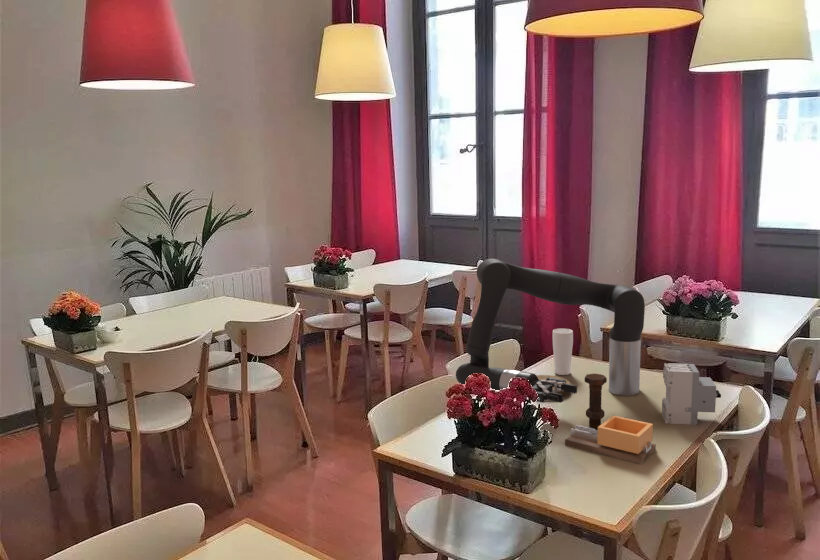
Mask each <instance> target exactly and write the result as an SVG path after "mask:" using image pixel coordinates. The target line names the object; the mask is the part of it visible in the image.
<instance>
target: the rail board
mask: <svg viewBox="0 0 820 560" xmlns="http://www.w3.org/2000/svg"><path fill="white" fill-rule="evenodd" d="M597 443H598V442H596V441H592V440H588V439H584V438H580V437H576V436H572V435H571V434H570V435H569V436H568V437H567V438H565V439H564V445H565V446H568V447H573V448H575V449H576V448H577V449H580V450H584V451H588V452H592V453H596V454H599V455H603V454H604V456H607V455H608V456H607V457H611V456H612V458H615V457H616V459H619V458H620V459H619V460H623V459H624V460H623V461H627V460H628V461H627V462H631V461H632V463H636V464H640V465H641V463H642V462H643V461H644V460H645V459H646V458H647V457H648V456H649V455H650V456H651V455H652V454H653V453H654V452H655V451H656V450H657V449H656V448H657V446H656V445H657V444H656V443H654V442H653V443H652V442H651V449H650V450H649V451H648V452H647V453H642V452H640V453H639V454H636V453H632V452H628V451H624V450H620V449H616V448H612V447H608V446H603V445H599V444H597ZM653 451H654V452H653ZM652 452H653V453H652ZM650 456H649V457H650ZM649 457H648V458H649ZM648 458H647V459H648ZM647 459H646V460H647ZM646 460H645V461H646ZM645 461H644V462H645ZM644 462H643V463H644ZM643 463H642V464H643Z"/></svg>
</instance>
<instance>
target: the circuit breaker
mask: <svg viewBox="0 0 820 560" xmlns="http://www.w3.org/2000/svg"><path fill="white" fill-rule="evenodd" d="M663 365H664V366H663V371H662V372H663V373H662V378H663V382H664V385H665V397H662V398H661V399H662V400H661V415H662V418H663V421H664V422H665V424H670V425H671V424H672V425H692V426H693V425H694V426H697V425H698V416H699V413H716V402H717V398H718V399H721V398H722V394H721V393H720V391H719V390H718V389H717V385H716V384H715V382H714V381H713V379H712V378H711V377H710V376H709V377H707V376H700V371H699V370H698V368H697V367H696V365H695V364H694V363H673V362H672V363H671V362H669V363H664V364H663Z"/></svg>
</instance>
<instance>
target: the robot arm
mask: <svg viewBox="0 0 820 560" xmlns="http://www.w3.org/2000/svg"><path fill="white" fill-rule="evenodd" d="M476 277H477V280H478V282H479V283H480V284H481V285H480V286H481V290H480V298H479V303H478V306H477V307H478V308H477V310H476V313H475V315H474V318H473V320H472V323H471V326H470V328H469V333H468V338H467V342H466V346H465V350H466V351H465V352H466V353H467V354H468V355H469V356H470V360H469V362H468V363H464V364H461V365H460V366H459V367H458V368H457V369H456V371H455V379H456V381H457V382H458V383H459V384H460V383H461V384H465V380H466V378H467V377H468V376H469V375H471V374H473V373H483V374H485V375H486V376H488V377H489V379H490V381H491V388H492V389H495V390H500V389H503V388H507V387H508V383H509V381H510V379H511V378H514V377H525V378H527V379H528V380H529V382H530V383H531V385H532V387H533V388H534V389H535V390H536V392H537V394H538V397H539V398H540V399H539V398H538V399H537V401H536V402H537V403H542V404H543V403H545V402H549V401H552V402H557V403H563V402H564V398H563V395H562V394H559V393H557V392H558V391H564V392H569V393H570V394H577V393H578V385H576V384H571V383H570V384H571V385H570V384H566V380H563V379H557V378H551V377H547V380H539V379H538V377H537V376H536V375H537V374H535V373H534V372H533V373H532V372H527V371H521V370H517V369H508V368H502V367H495V366H494V367H493V366H491V367H490V366H489V365H490V364H489V363H490V359H489V358H490V357H489V351H490V348H491V344H492V339H493V334H494V330H495V325H496V321H497V317H498V314H499V310H500V307H501V303H502V301H503V299H504V296H505V293H506V291H507V290H514V291H520V292H522V293H525V294H527V295H529V296H532V297H534V298H538V299H541V300H544V301H548V302H552V303H557V304H559V305H560V304H561V305H566V306H568V305H569V306H583V305H584V306H585V305H588V306H594V307H598V308H601V309H605V310H606V311H607V310H608V311H610V312H613V313H614V317H613V327H611V328H610V330H609V349H608V350H609V354H608V355H609V357H608V358H609V359H608V391H609V392H610V393H611V394H614V395H617V396H626V397H629V396H635V395H638V394H640V384H641V383H640V376H641V374H640V373H641V343H642V342H641V341H642V340H641V339H642V338H641V337H642V333H643V331H644V326H645V325H644V324H645V314H646V312H645V310H646V309H645V308H646V307H645V306H646V304H645V299H644V297H643V295H642V293H641V292H640V291H638V290H636V289H634V288H632V287H630V286H628V285H625V284H611V283H602V282H596V281H592V280H589V279H586V278H583V277H579V276H575V275H572V274H568V273H563V272H558V271H551V270H548V269H547V270H546V269H541V268H540V269H538V268H537V269H536V268H530V267H523V266H519V265H515V264H512V263H510V262H505V261H503V260H501V259H497V258H487V259H485V260H482V262H480V263H479V265H478V266H477V268H476ZM461 384H460V385H461ZM560 385H561V386H560ZM553 387H554V389H553Z"/></svg>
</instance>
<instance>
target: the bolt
mask: <svg viewBox="0 0 820 560" xmlns="http://www.w3.org/2000/svg"><path fill="white" fill-rule="evenodd" d="M607 378H608V377H606V376H605V375H604V374H600V373H589V374H586V375H585V376H584V383H586V384H588V389H589V392H588V393H589V398H588V399H589V400H588V403H589V404H588V408H587V409H586V410H585V416H586V417H587V418H588V419H589V420H588V427H589V428H594V429H598V427H599V426H600V425H601V424H602V419H603V418H604V417H605V411H604V409H602V396H603V395H602V392H603V391H602V389H603V385H605V384H606V383H607Z"/></svg>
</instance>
